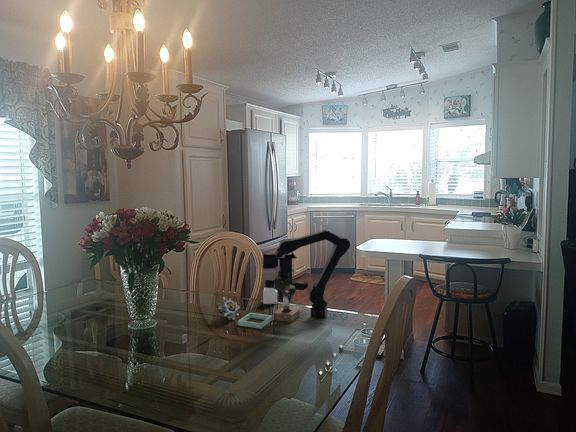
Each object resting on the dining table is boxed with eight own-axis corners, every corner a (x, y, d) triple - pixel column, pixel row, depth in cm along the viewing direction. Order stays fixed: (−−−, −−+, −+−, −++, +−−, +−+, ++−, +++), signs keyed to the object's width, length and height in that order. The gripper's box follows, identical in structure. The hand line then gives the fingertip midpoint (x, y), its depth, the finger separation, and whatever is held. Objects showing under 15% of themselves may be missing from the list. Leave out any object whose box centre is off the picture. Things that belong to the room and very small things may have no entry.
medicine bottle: (277, 305, 219) (277, 281, 218) (263, 305, 219) (262, 282, 218) (278, 301, 226) (277, 278, 225) (264, 301, 226) (263, 278, 225)
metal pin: (290, 310, 199) (290, 291, 198) (288, 312, 196) (288, 292, 195) (284, 310, 200) (284, 290, 199) (282, 312, 198) (281, 292, 197)
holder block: (299, 317, 201) (299, 309, 201) (292, 324, 193) (292, 315, 192) (281, 315, 205) (281, 306, 204) (273, 321, 196) (273, 312, 196)
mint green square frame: (272, 322, 196) (272, 315, 195) (261, 330, 186) (261, 323, 185) (250, 319, 200) (250, 312, 200) (238, 327, 190) (238, 320, 190)
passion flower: (233, 331, 200) (227, 316, 192) (213, 324, 204) (207, 308, 196) (246, 312, 207) (241, 296, 199) (226, 305, 211) (221, 289, 203)
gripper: (258, 270, 193) (259, 305, 194) (298, 274, 185) (299, 310, 187) (270, 265, 203) (270, 298, 204) (308, 268, 195) (308, 303, 197)
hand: (286, 302), depth 198 cm, fingers closed on metal pin, 3 cm apart
